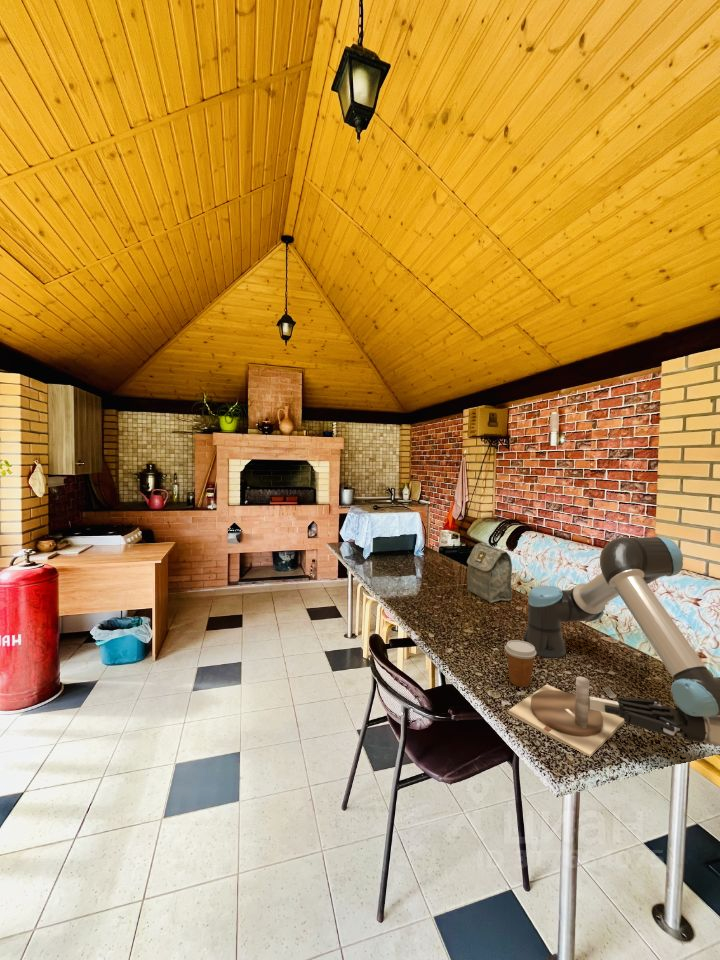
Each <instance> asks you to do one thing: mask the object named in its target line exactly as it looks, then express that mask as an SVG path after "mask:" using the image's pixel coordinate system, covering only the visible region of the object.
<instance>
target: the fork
mask: <svg viewBox="0 0 720 960" xmlns="http://www.w3.org/2000/svg"><path fill="white" fill-rule="evenodd" d="M602 689H603V690H604V692H605V693H606V695H607V696H608V697H609V699H614V698H618V697H617V695H616V693H614V691H613V690H612V689H611V688H610V687H602Z"/></svg>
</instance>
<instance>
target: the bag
mask: <svg viewBox="0 0 720 960" xmlns="http://www.w3.org/2000/svg"><path fill="white" fill-rule="evenodd" d="M466 564H467V570H466V572H467V574H466V576H467V578H466V579H467V580H466V582H467V589H466V590H467V591H468V592H471V593H473V594H474V595H476V596H478V597H480V598H481V599H483V600H485V601H487V602H489V603H490V604H493V603H496V602H499V601H511V600H512V597H513V596H512V595H513V594H512V575H513V574H512V573H513V564H512V558H511V556H510V554H509V553H508V551H505V550H502V549H500V548H497V547H495V546H491V545H488V544H486V542H484V541H483V542H479V543H477V544H475V545H474V547H473V548H472V550H471V551H470V555H469V556H468V558H467V560H466Z"/></svg>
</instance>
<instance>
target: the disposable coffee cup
mask: <svg viewBox="0 0 720 960" xmlns="http://www.w3.org/2000/svg"><path fill="white" fill-rule="evenodd" d="M504 650H505V652H506V658H507V668H508V678H509V681H510V683H511V684H513V685H514V686H517V687H520V688H525V687H526V688H527V687H529V686H530V685H531V679H532V674H533V669H534V663H535V657H536V656H537V655H536V650H535V647H534V646H533V645H532V644H530V643H528V642H525V641H523V640H519V639H515V640H514V639H513V640H508V641H507V642H506V644H505V646H504Z"/></svg>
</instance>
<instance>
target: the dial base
mask: <svg viewBox="0 0 720 960" xmlns="http://www.w3.org/2000/svg"><path fill="white" fill-rule="evenodd" d="M544 690H557V691H562V690H561V689H558V688H556V687H554V686H552V685H550V684H547V683H546V684H545V685H542V687H540V688H539V689H538V690H535V691H534V692H533V693H532V694H529V696H527V697H525V698H524V699H522V700H521V701H520V702H518V703H517V704H515V705H514V706H512V707H510V708H508V709H507V710H508V712H507V713H508V715H510V716H512V717H514V718H515V719H517V720H520V721H521V722H522V723H524V724H527V725H529V726H530V727H532V728H534V729H536V730H537V731H539V732H541V733H542V734H545V735H546V736H548V737H550V738H551V739H553V740H556V741H557V742H559V743H561V744H562V743H563V744H562V745H564V744H565V745H564V746H566V745H568V746H570V747H571V748H573V749H575V750H577V751H579V752H581V753H583V754H585V755H587V756H589V757H591V756H592V755H593V754H594V753H595V752H596V751H597V750H598V749H599V748H600V747H601V746H602V745H603V744H604V743H605V742H606V741H607V740H608V741H609V740H610V739H611V738H612V737H613V736H614V735H615V734H616V732H617V731H618V730H619V729H620V728H621V727H622V726H623V725H624V724H625V723H626V722H625V721H624V718H621V717H620V716H619V715H615V714H610V713H605V712H601V711H600V712H601V714H602V716H603V727H602V729H601V730H600V731H599V732H598V733H596V734H592V735H584V736H583V735H573V734H568V733H564V732H561V731H558V730H556V729H554V728H552V727H550V726H548V725H546V724H545V723H543V722H542V721H540V720H539V719H538V718H537V717H536V716H535V714H534V713H533V711H532V709H531V698H532V696H533V695H534V694H535V693H537V692H540V691H544ZM608 741H607V742H608ZM607 742H606V743H607ZM606 743H605V744H606ZM605 744H604V745H605ZM604 745H603V746H604ZM568 746H567V747H568ZM603 746H602V747H603ZM570 747H569V748H570ZM602 747H601V748H602ZM571 748H570V749H571ZM601 748H600V749H601ZM573 749H572V750H573ZM600 749H599V750H600ZM575 750H574V751H575ZM599 750H598V751H599ZM577 751H576V752H577ZM598 751H597V752H598ZM579 752H578V753H579ZM597 752H596V753H597ZM596 753H595V754H596ZM595 754H594V755H595ZM594 755H593V756H594ZM593 756H592V757H593ZM592 757H591V758H592Z"/></svg>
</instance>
